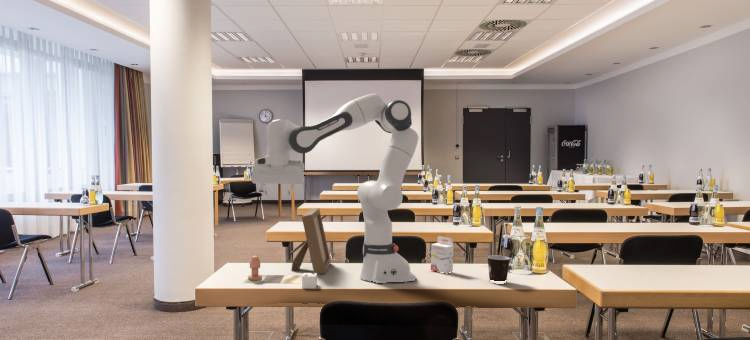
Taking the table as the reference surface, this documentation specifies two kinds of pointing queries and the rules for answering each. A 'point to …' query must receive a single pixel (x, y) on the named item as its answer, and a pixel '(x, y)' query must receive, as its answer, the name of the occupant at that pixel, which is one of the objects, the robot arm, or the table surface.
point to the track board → (276, 279)
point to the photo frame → (313, 243)
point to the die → (309, 280)
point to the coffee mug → (498, 267)
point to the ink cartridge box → (442, 255)
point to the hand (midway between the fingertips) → (277, 195)
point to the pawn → (255, 269)
